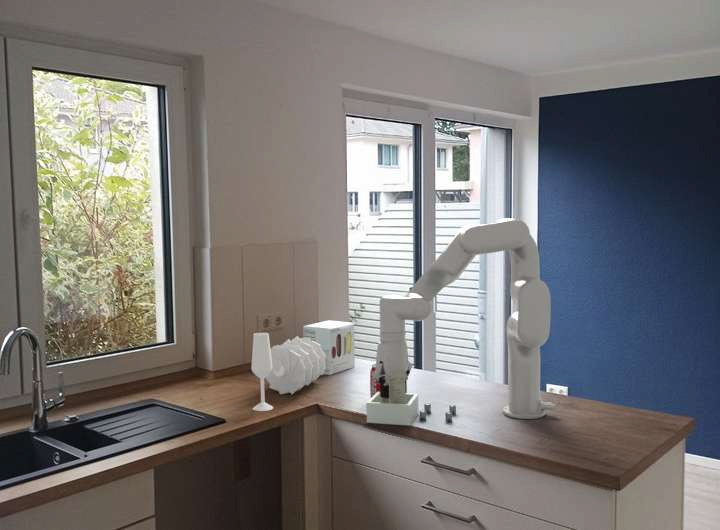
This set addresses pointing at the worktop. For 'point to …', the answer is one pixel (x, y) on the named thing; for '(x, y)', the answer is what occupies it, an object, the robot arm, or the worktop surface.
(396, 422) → the bin
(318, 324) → the supplement box
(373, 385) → the soda can
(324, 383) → the worktop surface
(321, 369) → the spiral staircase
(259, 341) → the champagne flute
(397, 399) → the skincare box
